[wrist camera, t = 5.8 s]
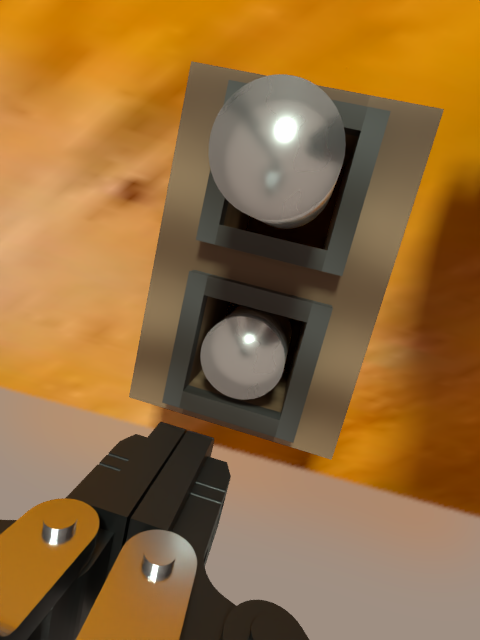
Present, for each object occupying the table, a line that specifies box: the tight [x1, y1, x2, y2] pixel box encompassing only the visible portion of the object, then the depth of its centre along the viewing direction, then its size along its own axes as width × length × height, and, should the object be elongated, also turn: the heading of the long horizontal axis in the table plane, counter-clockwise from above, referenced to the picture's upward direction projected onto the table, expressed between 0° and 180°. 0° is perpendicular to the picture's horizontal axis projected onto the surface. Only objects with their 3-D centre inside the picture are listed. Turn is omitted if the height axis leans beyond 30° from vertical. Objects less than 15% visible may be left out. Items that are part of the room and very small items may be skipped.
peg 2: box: [200, 305, 291, 400], centre depth 24 cm, size 4×4×7 cm
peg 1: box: [209, 75, 346, 229], centre depth 16 cm, size 4×4×7 cm
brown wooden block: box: [129, 62, 444, 459], centre depth 23 cm, size 18×12×8 cm, turn 166°
